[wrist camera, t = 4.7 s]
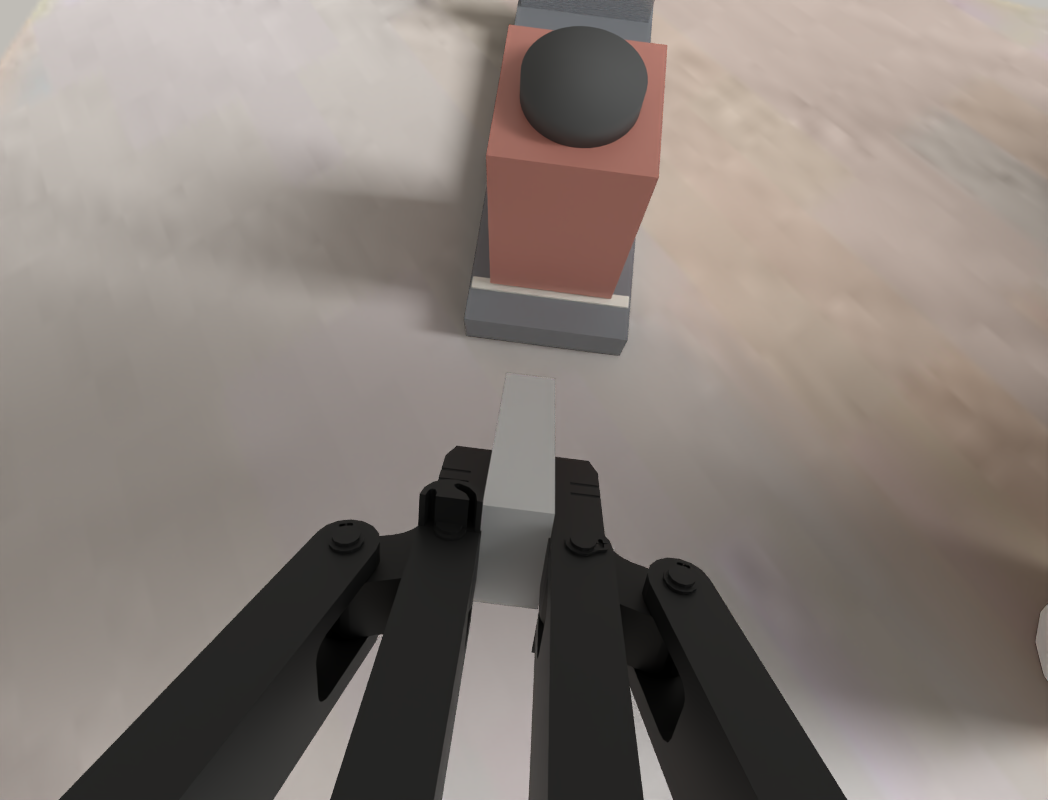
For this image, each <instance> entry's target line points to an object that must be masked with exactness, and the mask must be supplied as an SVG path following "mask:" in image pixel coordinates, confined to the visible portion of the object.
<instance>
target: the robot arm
mask: <svg viewBox="0 0 1048 800" xmlns="http://www.w3.org/2000/svg"><path fill="white" fill-rule="evenodd" d="M473 601H475V602H483V603H491V604H500V605H508V606H516V607H524V608H532V609H538V606H539V614H538V619H537V625H536V630H535V636H534V642H533V647H532V652H533V653H535V661H534V685H533V709H532V733H531V756H530V780H529V800H644V799H643V791H642V782H641V774H640V766H639V758H638V750H637V742H636V734H635V725H634V717H633V709H632V701H631V693H630V688H631V690H632V693H633V695H634V698H635V701H636V703H637V706H638V709H639V711H640V714H641V716H642V719H643V722H644V724H645V727H646V730H647V732H648V735H649V737H650V740H651V743H652V745H653V748H654V751H655V753H656V756H657V758H658V761H659V764H660V766H661V769H662V771H663V774H664V777H665V779H666V782H667V785H668V787H669V790H670V792H671V795H672V798H673V800H847V798H846V797H845V795H844V794H843V792H842V790H841V789H840V787H839V786H838V784H837V782H836V781H835V779H834V778H833V776H832V774H831V773H830V771H829V770H828V768H827V766H826V765H825V763H824V762H823V760H822V758H821V757H820V755H819V754H818V752H817V750H816V749H815V747H814V746H813V744H812V742H811V741H810V739H809V738H808V736H807V734H806V733H805V731H804V730H803V728H802V726H801V725H800V723H799V722H798V720H797V718H796V717H795V715H794V714H793V712H792V710H791V709H790V707H789V706H788V704H787V702H786V701H785V699H784V697H783V696H782V694H781V693H780V691H779V689H778V688H777V686H776V685H775V683H774V681H773V680H772V678H771V677H770V675H769V673H768V672H767V670H766V669H765V667H764V665H763V664H762V662H761V661H760V659H759V657H758V656H757V654H756V653H755V651H754V649H753V648H752V646H751V645H750V643H749V641H748V640H747V638H746V637H745V635H744V633H743V632H742V630H741V629H740V627H739V625H738V624H737V622H736V621H735V619H734V617H733V616H732V614H731V613H730V611H729V609H728V608H727V606H726V605H725V603H724V601H723V600H722V598H721V597H720V595H719V593H718V592H717V590H716V588H715V587H714V585H713V584H712V582H711V580H710V579H709V578H708V577H707V576H706V574H705V573H704V572H703V571H702V570H701V569H699V568H698V567H696V566H695V565H693V564H692V563H689V562H686V561H684V560H681V559H675V558H664V559H659V560H656V561H655V562H654V563H652V564H651V565H650V567H649V569H648V568H645V567H643V566H640V565H637V564H635V563H632V562H630V561H628V560H626V559H624V558H622V557H621V556H619V555H618V554H616V553H615V552H614V551H613V548H612V546H611V543H610V541H609V540H608V539H607V538H606V537H605V534H604V525H603V516H602V507H601V499H600V490H599V481H598V473H597V472H596V470H595V469H594V468H593V466H592V465H591V464H590V462H589V461H584V460H576V459H568V458H560V457H555V378H547V377H539V376H531V375H524V374H516V373H508V372H507V373H506V378H505V384H504V389H503V395H502V400H501V406H500V411H499V417H498V422H497V428H496V433H495V438H494V444H493V449H492V450H486V449H478V448H470V447H462V446H456V447H455V448H454V449H452V450H451V451H450V452H449V453H448V454H447V455H446V456H445V459H444V462H443V466H442V470H441V472H440V475H439V480H438V481H435V482H432V483H431V484H429V485H427V486H426V487H424V489H423V490H422V491H421V493H420V498H419V522H418V526H417V527H416V528H414V529H412V530H410V531H407V532H404V533H400V534H395V535H386V536H379V533H378V532H377V530H376V529H375V528H374V527H373V526H372V525H370V524H368V523H366V522H364V521H358V520H342V521H337V522H334V523H331V524H328V525H326V526H325V527H323V528H322V529H321V530H319V531H318V532H317V533H316V534H315V535H314V536H313V537H312V538H311V539H310V540H309V541H308V542H307V543H306V544H305V545H304V546H303V547H302V548H301V549H300V550H299V551H298V553H297V554H296V555H295V556H294V557H293V558H292V559H291V560H290V561H289V562H288V563H287V564H286V565H285V566H284V567H283V568H282V569H281V570H280V571H279V572H278V573H277V574H276V575H275V576H274V577H273V578H272V579H271V580H270V582H269V583H268V584H267V585H266V586H265V587H264V588H263V589H262V590H261V591H260V592H259V593H258V594H257V595H256V596H255V597H254V598H253V599H252V600H251V601H250V602H249V603H248V604H247V605H246V606H245V607H244V608H243V609H242V611H241V612H240V613H239V614H238V615H237V616H236V617H235V618H234V619H233V620H232V621H231V622H230V623H229V624H228V625H227V626H226V627H225V628H224V629H223V630H222V631H221V632H220V633H219V634H218V635H217V636H216V637H215V638H214V640H213V641H212V642H211V643H210V644H209V645H208V646H207V647H206V648H205V649H204V650H203V651H202V652H201V653H200V654H199V655H198V656H197V657H196V658H195V659H194V660H193V661H192V662H191V663H190V664H189V665H188V666H187V667H186V669H185V670H184V671H183V672H182V673H181V674H180V675H179V676H178V677H177V678H176V679H175V680H174V681H173V682H172V683H171V684H170V685H169V686H168V687H167V688H166V689H165V690H164V691H163V692H162V693H161V694H160V695H159V696H158V698H157V699H156V700H155V701H154V702H153V703H152V704H151V705H150V706H149V707H148V708H147V709H146V710H145V711H144V712H143V713H142V714H141V715H140V716H139V717H138V718H137V719H136V720H135V721H134V722H133V723H132V724H131V725H130V727H129V728H128V729H127V730H126V731H125V732H124V733H123V734H122V735H121V736H120V737H119V738H118V739H117V740H116V741H115V742H114V743H113V744H112V745H111V746H110V747H109V748H108V749H107V750H106V751H105V752H104V753H103V754H102V756H101V757H100V758H99V759H98V760H97V761H96V762H95V763H94V764H93V765H92V766H91V767H90V768H89V769H88V770H87V771H86V772H85V773H84V774H83V775H82V776H81V777H80V778H79V779H78V780H77V781H76V782H75V783H74V785H73V786H72V787H71V788H70V789H69V790H68V791H67V792H66V793H65V794H64V795H63V796H62V797H61V798H60V799H59V800H273V799H274V798H275V796H276V795H277V793H278V791H279V790H280V788H281V787H282V785H283V784H284V782H285V781H286V779H287V778H288V776H289V775H290V773H291V771H292V770H293V768H294V767H295V765H296V764H297V762H298V761H299V759H300V758H301V756H302V754H303V753H304V751H305V750H306V748H307V747H308V745H309V744H310V742H311V741H312V739H313V738H314V736H315V734H316V733H317V731H318V730H319V728H320V727H321V725H322V724H323V722H324V721H325V719H326V717H327V716H328V714H329V713H330V711H331V710H332V708H333V707H334V705H335V704H336V702H337V701H338V699H339V697H340V696H341V694H342V693H343V691H344V690H345V688H346V687H347V685H348V684H349V682H350V681H351V679H352V677H353V676H354V674H355V673H356V671H357V670H358V668H359V667H360V665H361V664H362V662H363V660H364V659H365V657H366V656H367V654H368V653H369V651H370V650H371V648H372V647H373V645H374V644H375V642H376V640H377V637H378V635H379V634H383V637H382V640H381V643H380V646H379V649H378V653H377V656H376V659H375V662H374V665H373V668H372V671H371V674H370V677H369V681H368V684H367V687H366V690H365V693H364V696H363V699H362V702H361V705H360V709H359V712H358V715H357V718H356V721H355V724H354V727H353V730H352V733H351V737H350V740H349V743H348V746H347V749H346V752H345V755H344V758H343V762H342V765H341V768H340V771H339V774H338V777H337V780H336V783H335V786H334V790H333V793H332V796H331V799H330V800H442V795H443V789H444V783H445V777H446V770H447V764H448V758H449V752H450V746H451V739H452V733H453V727H454V721H455V715H456V708H457V702H458V696H459V690H460V684H461V677H462V671H463V665H464V659H465V653H466V646H467V640H468V634H469V628H470V622H471V613H472V604H473Z"/></svg>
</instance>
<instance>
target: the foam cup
mask: <svg viewBox="0 0 1048 800" xmlns="http://www.w3.org/2000/svg"><path fill="white" fill-rule="evenodd" d="M1035 642H1036V646H1037V650H1038V654H1039V658H1040V662H1041V666H1042V670H1043V674H1044V676H1045V678H1046V679H1047V681H1048V604H1047V605H1046V606H1045V607H1044V609H1043V610H1042V611H1041V612H1040V618H1039V624H1038V629H1037V635H1036V640H1035Z"/></svg>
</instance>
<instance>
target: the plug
mask: <svg viewBox="0 0 1048 800" xmlns="http://www.w3.org/2000/svg"><path fill="white" fill-rule="evenodd" d="M666 57H667V45H662V44H654V43H647V42H639V41H632V40H624V39H623V38H621V37H619V36H618V35H616V34H614V33H611V32H609V31H606V30H603V29H600V28H595V27H589V26H571V27H564V28H560V29H557V30H548V29H540V28H532V27H525V26H517V25H510V24H509V27H508V33H507V39H506V44H505V50H504V56H503V62H502V67H501V73H500V79H499V84H498V90H497V96H496V102H495V107H494V113H493V119H492V124H491V130H490V136H489V142H488V147H487V153H486V167H487V198H488V229H489V259H490V283H494V284H502V285H509V286H517V287H524V288H532V289H540V290H547V291H555V292H563V293H570V294H578V295H586V296H593V297H601V298H608V299H611V298H612V295H613V293H614V290H615V288H616V285H617V283H618V280H619V277H620V275H621V272H622V270H623V267H624V265H625V262H626V260H627V257H628V255H629V252H630V249H631V247H632V244H633V242H634V239H635V237H636V234H637V232H638V229H639V227H640V224H641V221H642V219H643V216H644V214H645V211H646V209H647V206H648V204H649V201H650V199H651V196H652V193H653V191H654V188H655V186H656V183H657V181H658V178H659V164H660V149H661V134H662V118H663V103H664V88H665V72H666Z"/></svg>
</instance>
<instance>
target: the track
mask: <svg viewBox="0 0 1048 800" xmlns="http://www.w3.org/2000/svg"><path fill="white" fill-rule="evenodd" d="M654 1H655V0H519V1H518V7H517V13H516V18H515V24H514V25H517V26H525V27H532V28H540V29H548V30H557V29H560V28H564V27H571V26H589V27H595V28H600V29H603V30H606V31H609V32H611V33H614V34H616V35H618V36H619V37H621V38H623V39H624V40H632V41H639V42H647V43H650V41H651V28H652V15H653V4H654ZM634 249H635V239H634V242H633V244H632V247H631V249H630V252H629V255H628V257H627V260H626V262H625V265H624V267H623V270H622V272H621V275H620V277H619V280H618V283H617V285H616V288H615V290H614V293H613V295H612V298H611V299H608V298H601V297H593V296H586V295H578V294H570V293H563V292H555V291H547V290H540V289H532V288H524V287H517V286H509V285H502V284H494V283H490V259H489V229H488V198H487V188H486V194H485V200H484V205H483V211H482V217H481V223H480V229H479V235H478V241H477V246H476V252H475V258H474V264H473V270H472V276H471V281H470V287H469V293H468V299H467V305H466V311H465V317H464V322H465V329H466V335H467V336H474V337H482V338H490V339H497V340H505V341H512V342H520V343H528V344H535V345H543V346H551V347H558V348H566V349H574V350H581V351H589V352H596V353H604V354H612V355H620V353H621V352H622V350H623V348H624V346H625V344H626V342H627V340H628V327H629V314H630V301H631V288H632V275H633V262H634Z"/></svg>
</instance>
